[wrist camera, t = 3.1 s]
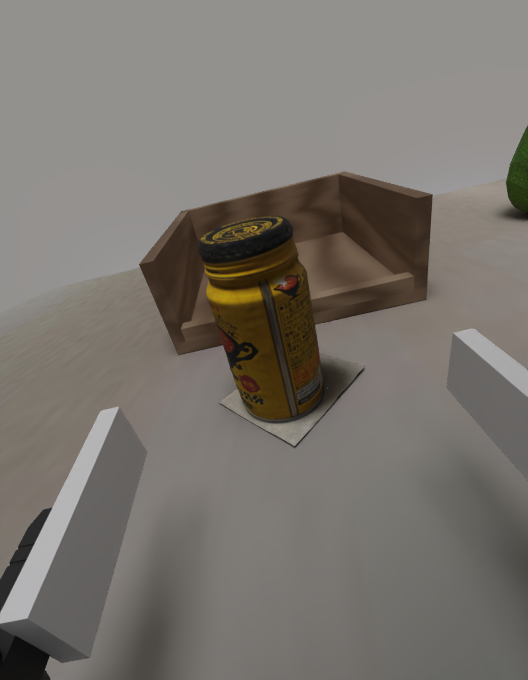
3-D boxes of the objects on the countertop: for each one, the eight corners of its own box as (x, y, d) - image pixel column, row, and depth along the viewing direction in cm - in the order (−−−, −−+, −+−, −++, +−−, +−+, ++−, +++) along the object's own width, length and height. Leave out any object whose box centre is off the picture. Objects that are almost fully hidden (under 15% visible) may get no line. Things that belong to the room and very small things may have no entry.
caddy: (348, 236, 50) (344, 171, 46) (426, 299, 30) (432, 194, 25) (200, 270, 52) (181, 211, 47) (178, 354, 31) (138, 264, 26)
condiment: (219, 404, 24) (157, 247, 18) (289, 345, 29) (260, 203, 22) (295, 449, 19) (248, 255, 13) (365, 369, 24) (356, 197, 18)
